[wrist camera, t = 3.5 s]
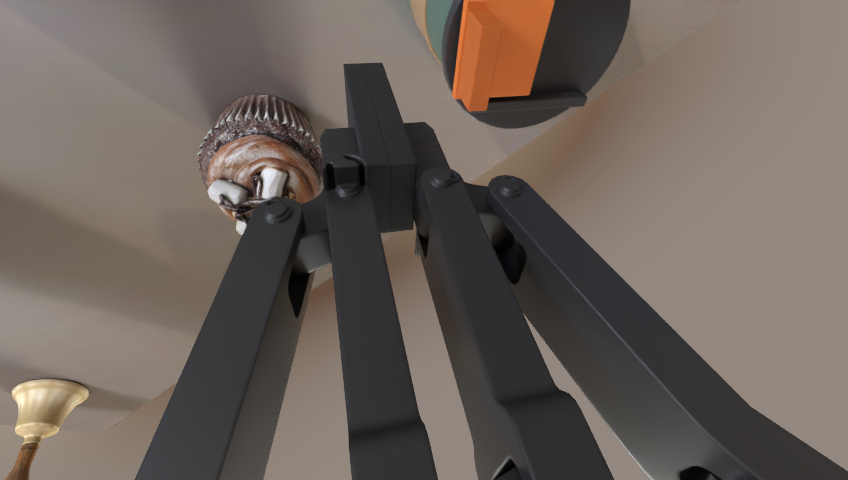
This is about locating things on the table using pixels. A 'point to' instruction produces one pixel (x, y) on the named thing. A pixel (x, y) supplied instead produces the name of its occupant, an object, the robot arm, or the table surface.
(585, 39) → the mug lid
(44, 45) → the table surface
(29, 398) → the hand bell
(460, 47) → the slider
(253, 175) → the cupcake
